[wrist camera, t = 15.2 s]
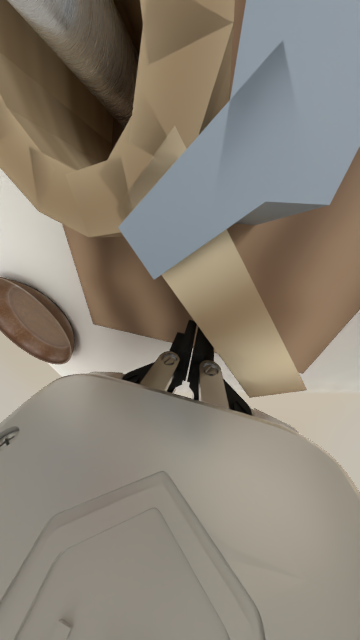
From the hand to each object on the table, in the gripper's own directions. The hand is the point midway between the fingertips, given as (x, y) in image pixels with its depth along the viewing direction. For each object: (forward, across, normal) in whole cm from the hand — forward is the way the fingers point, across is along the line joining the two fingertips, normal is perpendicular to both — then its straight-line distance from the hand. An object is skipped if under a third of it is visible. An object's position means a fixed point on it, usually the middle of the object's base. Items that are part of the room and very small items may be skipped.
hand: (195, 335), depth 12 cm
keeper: (+3, 0, -9) cm, 9 cm away
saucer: (+4, +24, +6) cm, 25 cm away
